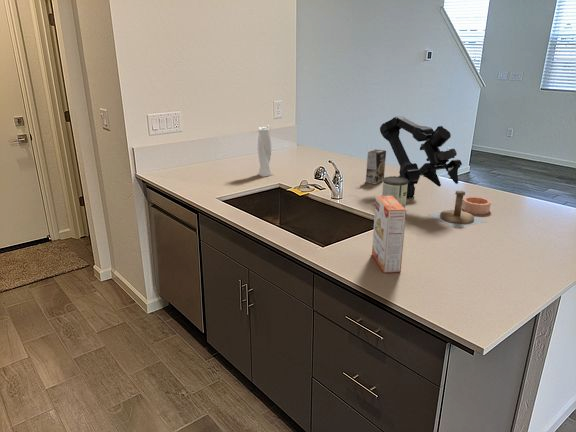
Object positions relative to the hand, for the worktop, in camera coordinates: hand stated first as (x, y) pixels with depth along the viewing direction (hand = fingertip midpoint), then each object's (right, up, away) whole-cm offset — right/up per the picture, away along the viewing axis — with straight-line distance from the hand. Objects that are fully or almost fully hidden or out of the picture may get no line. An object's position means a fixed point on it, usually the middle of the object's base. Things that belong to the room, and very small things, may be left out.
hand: (448, 184), depth 185 cm
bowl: (+15, -10, +9) cm, 20 cm away
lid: (+3, -14, -1) cm, 14 cm away
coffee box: (-21, +5, +51) cm, 55 cm away
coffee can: (-21, -11, +7) cm, 25 cm away
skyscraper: (-79, +9, +62) cm, 100 cm away
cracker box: (-35, -28, -40) cm, 60 cm away
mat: (+3, -14, -1) cm, 14 cm away
